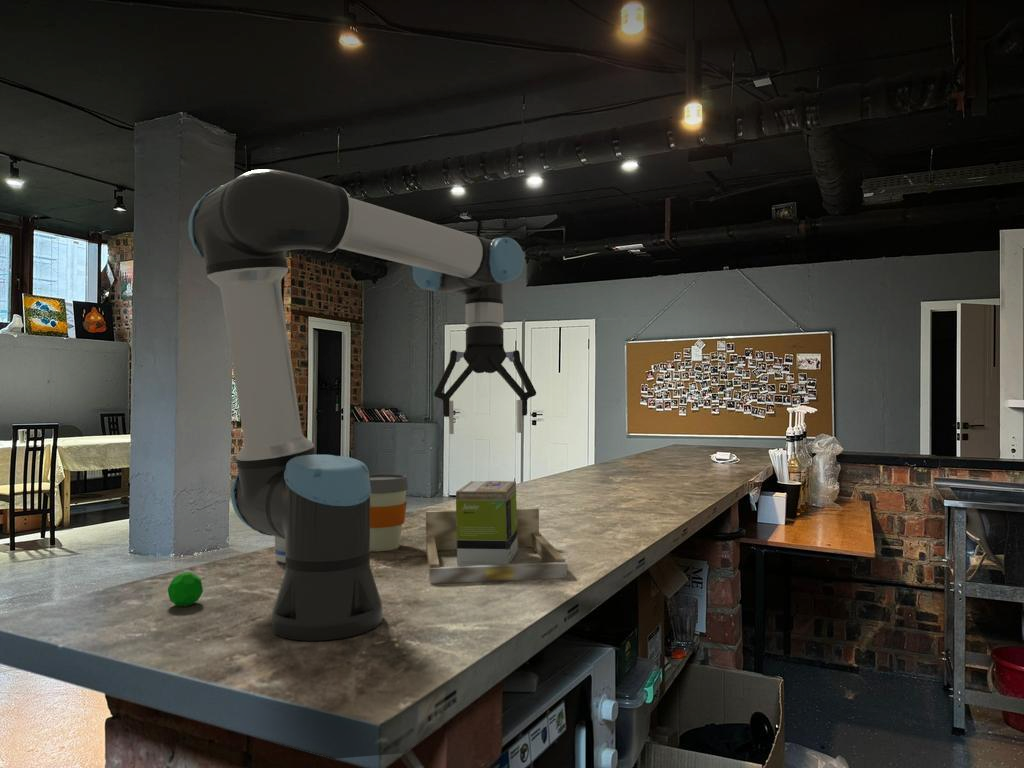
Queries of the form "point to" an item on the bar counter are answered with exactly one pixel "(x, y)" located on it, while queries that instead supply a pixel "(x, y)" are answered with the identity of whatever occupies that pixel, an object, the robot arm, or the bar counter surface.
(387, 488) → the reusable coffee cup
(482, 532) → the tea box
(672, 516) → the bar counter surface
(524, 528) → the open wooden storage bin
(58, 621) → the bar counter surface
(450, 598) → the bar counter surface
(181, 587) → the polyhedron
